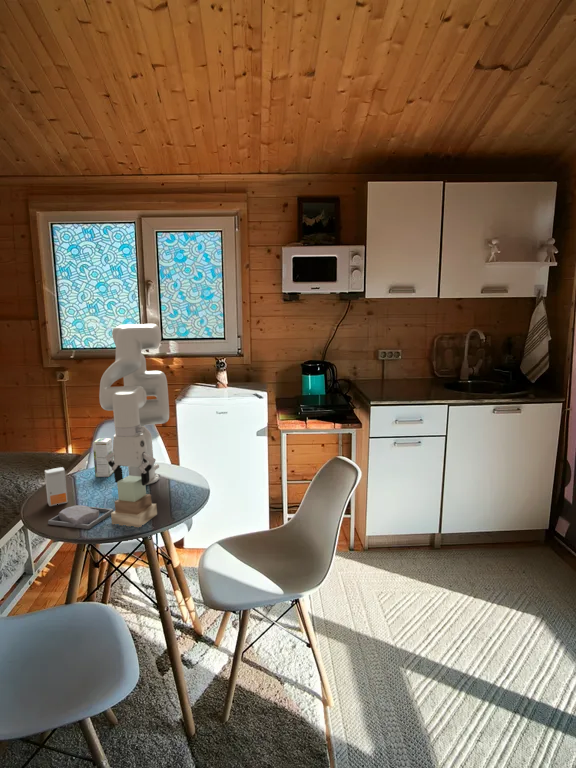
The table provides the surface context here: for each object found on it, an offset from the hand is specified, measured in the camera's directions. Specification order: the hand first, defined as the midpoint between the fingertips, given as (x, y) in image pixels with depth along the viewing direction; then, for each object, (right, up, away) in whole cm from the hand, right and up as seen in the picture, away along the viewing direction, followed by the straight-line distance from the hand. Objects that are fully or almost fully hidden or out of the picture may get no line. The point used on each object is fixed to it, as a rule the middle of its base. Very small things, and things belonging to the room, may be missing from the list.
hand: (132, 482), depth 162 cm
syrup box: (-24, -6, +44) cm, 50 cm away
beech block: (+1, -12, +1) cm, 12 cm away
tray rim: (-17, -12, +2) cm, 21 cm away
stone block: (-17, -13, +3) cm, 22 cm away
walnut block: (0, -8, 0) cm, 8 cm away
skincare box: (-31, -10, +16) cm, 36 cm away
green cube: (0, -5, 0) cm, 5 cm away
